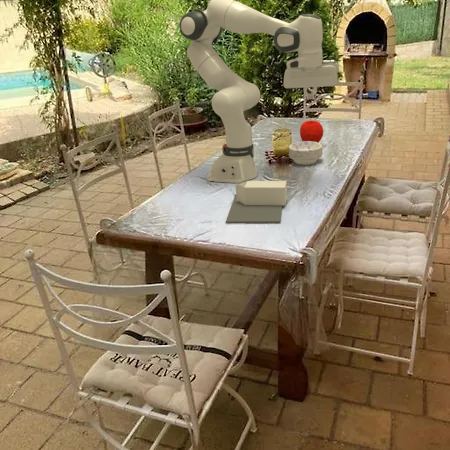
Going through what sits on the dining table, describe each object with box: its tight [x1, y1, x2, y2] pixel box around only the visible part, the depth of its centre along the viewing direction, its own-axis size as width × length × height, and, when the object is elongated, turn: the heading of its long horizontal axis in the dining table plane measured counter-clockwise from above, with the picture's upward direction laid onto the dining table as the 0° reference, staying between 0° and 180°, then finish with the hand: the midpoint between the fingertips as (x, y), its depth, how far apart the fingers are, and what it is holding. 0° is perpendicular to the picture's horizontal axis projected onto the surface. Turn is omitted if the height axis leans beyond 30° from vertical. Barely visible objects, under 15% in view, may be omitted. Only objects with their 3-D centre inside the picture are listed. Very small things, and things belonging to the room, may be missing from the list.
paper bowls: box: [288, 141, 323, 166], centre depth 222 cm, size 15×15×8 cm
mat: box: [225, 194, 283, 224], centre depth 178 cm, size 19×26×1 cm
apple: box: [299, 120, 324, 143], centre depth 243 cm, size 12×12×13 cm
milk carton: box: [235, 180, 288, 206], centre depth 180 cm, size 7×7×19 cm
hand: (310, 98), depth 184 cm, fingers closed
